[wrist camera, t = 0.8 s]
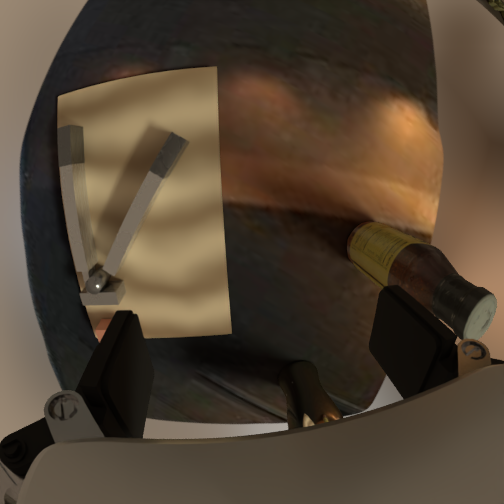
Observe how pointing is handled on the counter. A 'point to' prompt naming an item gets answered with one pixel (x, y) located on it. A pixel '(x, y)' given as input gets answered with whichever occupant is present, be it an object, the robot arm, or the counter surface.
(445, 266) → the sauce bottle
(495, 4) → the cookie cutter
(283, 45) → the counter surface
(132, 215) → the tong jaw
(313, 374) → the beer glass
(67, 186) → the base
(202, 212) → the board
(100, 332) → the tab
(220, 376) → the counter surface
